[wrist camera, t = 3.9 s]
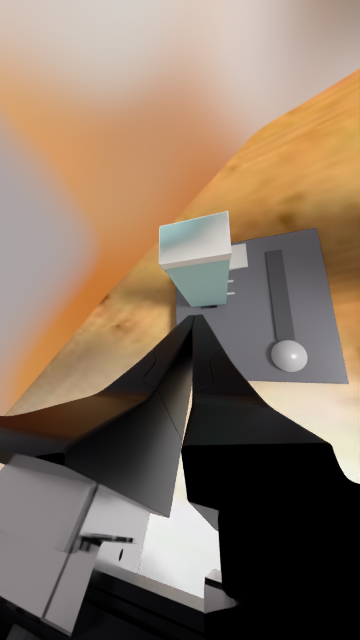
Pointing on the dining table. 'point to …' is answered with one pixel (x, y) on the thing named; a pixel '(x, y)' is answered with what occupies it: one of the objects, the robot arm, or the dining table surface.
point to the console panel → (277, 312)
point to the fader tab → (198, 257)
